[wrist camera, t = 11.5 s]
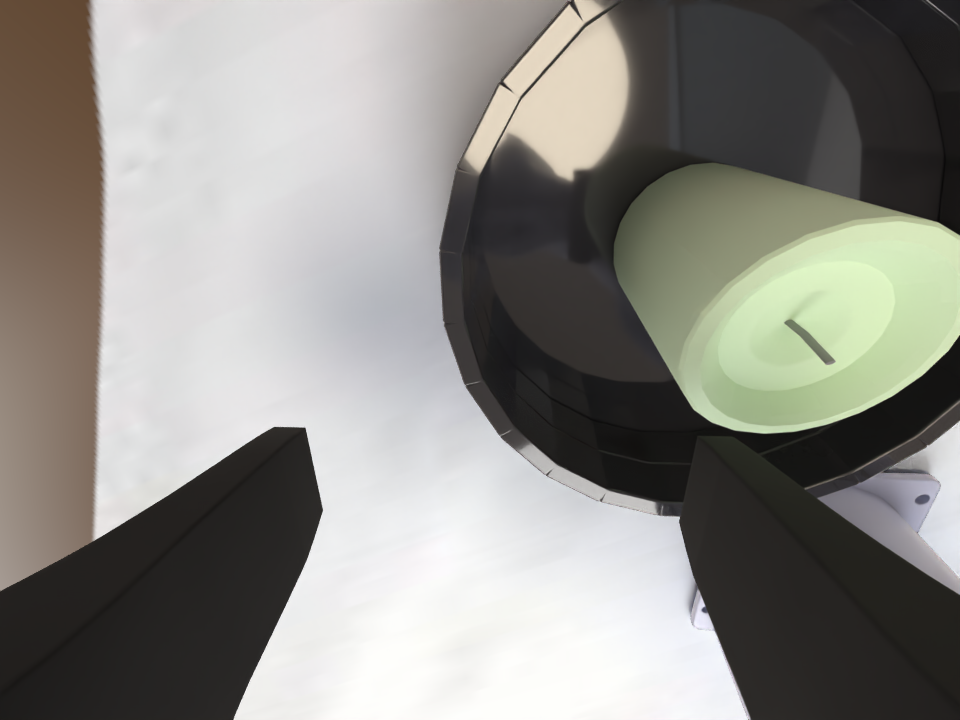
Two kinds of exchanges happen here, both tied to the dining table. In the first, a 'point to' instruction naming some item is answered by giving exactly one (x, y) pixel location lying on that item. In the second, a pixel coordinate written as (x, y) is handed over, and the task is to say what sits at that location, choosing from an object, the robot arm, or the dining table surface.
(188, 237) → the dining table surface
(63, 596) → the robot arm
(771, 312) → the candle
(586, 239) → the pan
